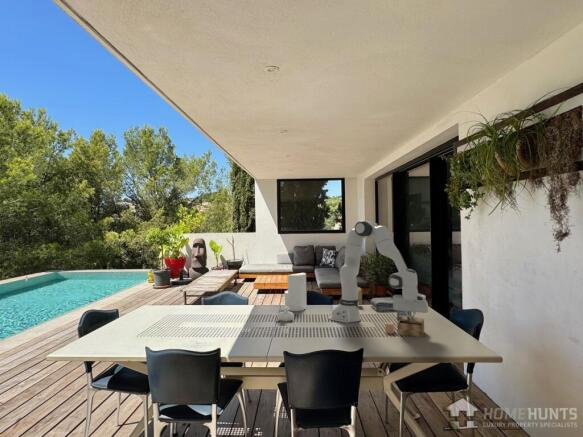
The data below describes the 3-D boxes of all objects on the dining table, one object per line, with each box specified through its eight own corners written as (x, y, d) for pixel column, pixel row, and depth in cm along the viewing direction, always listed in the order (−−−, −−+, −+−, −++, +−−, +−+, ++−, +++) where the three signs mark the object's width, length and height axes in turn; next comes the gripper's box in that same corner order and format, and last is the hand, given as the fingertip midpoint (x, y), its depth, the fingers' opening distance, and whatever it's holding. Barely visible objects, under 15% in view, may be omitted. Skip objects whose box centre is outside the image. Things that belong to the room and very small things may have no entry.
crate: (397, 334, 205) (397, 322, 205) (400, 329, 215) (400, 318, 215) (422, 337, 199) (422, 325, 199) (424, 332, 208) (424, 320, 209)
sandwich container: (340, 305, 281) (340, 287, 282) (359, 304, 283) (358, 286, 283) (343, 308, 273) (343, 289, 273) (362, 307, 274) (361, 288, 275)
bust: (294, 320, 240) (293, 303, 240) (294, 323, 232) (294, 306, 233) (277, 320, 239) (276, 304, 240) (277, 323, 232) (276, 306, 232)
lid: (397, 320, 205) (397, 318, 205) (400, 315, 215) (400, 313, 215) (422, 324, 199) (422, 322, 199) (424, 319, 209) (424, 318, 209)
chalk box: (411, 322, 230) (411, 300, 230) (397, 321, 232) (397, 299, 232) (410, 318, 239) (409, 297, 239) (396, 318, 241) (396, 297, 241)
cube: (385, 332, 208) (385, 323, 208) (386, 330, 212) (386, 322, 212) (393, 333, 206) (392, 324, 206) (394, 331, 210) (394, 322, 210)
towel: (369, 307, 275) (369, 297, 275) (392, 306, 276) (391, 296, 276) (375, 311, 260) (375, 301, 260) (399, 311, 261) (399, 300, 261)
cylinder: (311, 308, 272) (310, 273, 272) (296, 313, 259) (295, 276, 260) (295, 305, 283) (294, 271, 284) (280, 309, 271) (279, 274, 272)
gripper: (391, 295, 209) (392, 318, 209) (427, 298, 200) (427, 321, 199) (393, 293, 214) (393, 315, 214) (428, 296, 205) (428, 319, 205)
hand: (410, 318), depth 207 cm, fingers closed
